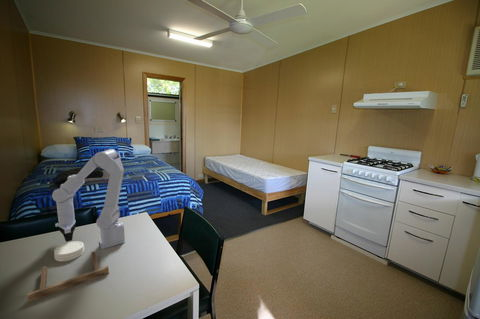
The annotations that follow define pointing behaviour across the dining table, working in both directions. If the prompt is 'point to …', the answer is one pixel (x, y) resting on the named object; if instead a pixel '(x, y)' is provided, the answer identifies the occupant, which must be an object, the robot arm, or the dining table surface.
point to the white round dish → (69, 251)
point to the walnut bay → (66, 281)
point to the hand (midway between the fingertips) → (69, 240)
